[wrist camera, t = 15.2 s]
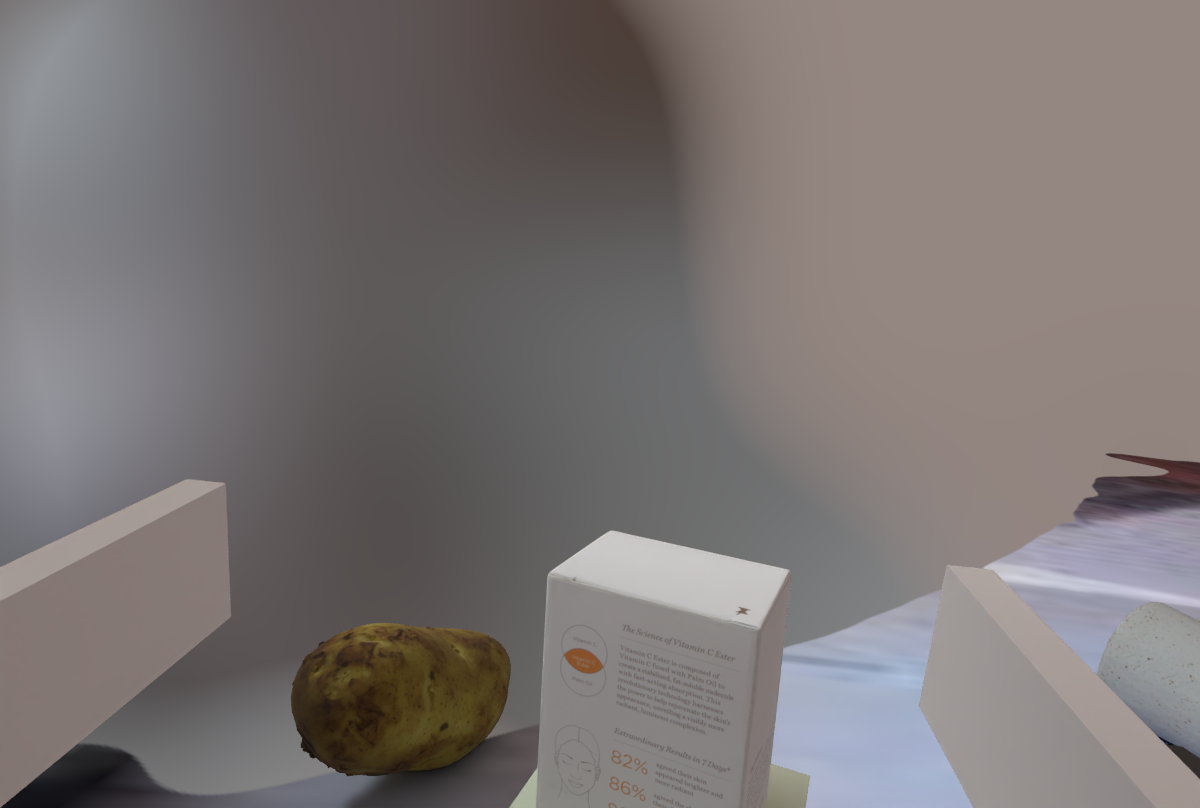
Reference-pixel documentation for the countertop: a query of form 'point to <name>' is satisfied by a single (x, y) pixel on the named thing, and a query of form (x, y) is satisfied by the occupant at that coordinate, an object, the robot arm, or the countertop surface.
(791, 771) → the sage top slab
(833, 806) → the countertop surface
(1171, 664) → the ceramic mug
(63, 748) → the robot arm
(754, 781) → the small box
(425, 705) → the potato
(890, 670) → the countertop surface
